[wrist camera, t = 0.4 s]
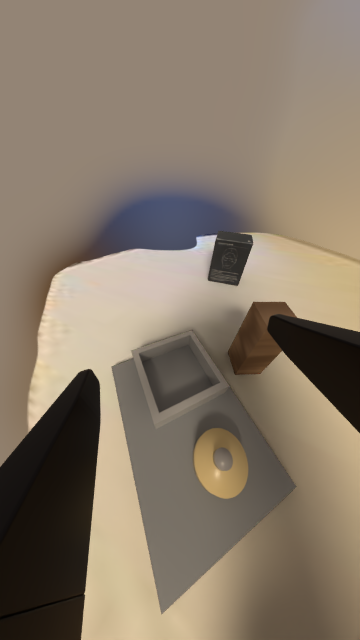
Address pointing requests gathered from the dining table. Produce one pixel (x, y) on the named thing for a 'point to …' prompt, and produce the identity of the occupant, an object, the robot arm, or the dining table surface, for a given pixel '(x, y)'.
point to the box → (229, 257)
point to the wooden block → (256, 339)
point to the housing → (192, 460)
